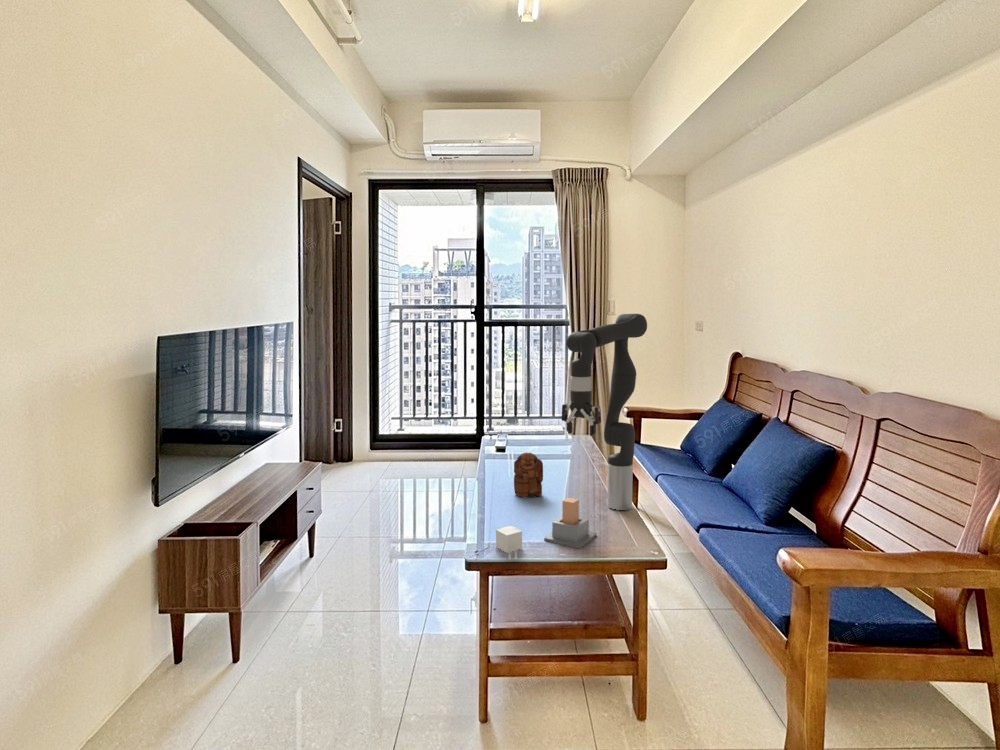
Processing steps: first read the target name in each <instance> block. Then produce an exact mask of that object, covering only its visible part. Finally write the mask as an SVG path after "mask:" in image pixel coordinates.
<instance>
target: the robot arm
mask: <svg viewBox="0 0 1000 750" xmlns="http://www.w3.org/2000/svg"><path fill="white" fill-rule="evenodd" d="M647 329H648V322H647V318H646V317H645V316H644V315H643V314H640V313H621V314H619V315H618V316H617V317H616V320H615V323H610V324H603V325H600V326H599V325H598V326H597V327H593V328H591V329H585V330H583V329H582V330H578V331H577V330H576V331H573V332H572V333H570V334H569V335H568V336H567V338H566V343H565V344H566V347H567V349H568V350H569V351H570V352H573V353H580V356H579V358H577V359H573V360H572V361H571V365H570V383H569V384H570V386H569V389H570V390H569V391H570V396H569V397H570V398H569V399H570V400H569V401H570V404H568V403H565V404H564V403H563V404H562V407H561V418H560V419H561V421H562V422H565V423H566V432H567V434H572V433H573V421H574V419H575V418H581V419H586V420H587V421H588V424H590V425H589V436H590V437H594V435H595V434H596V433H597V432H596V430H597V427H596V426H597V425H598V424H601V423H602V416H601V415H602V411H601V407H600V406H599V405H598V406H593V404H592V403H593V402H592V401H593V400H592V399H593V394H592V393H593V379H592V364H593V360H594V356H595V353H596V350H597V348H599V347H603V346H605V345H608V344H611V343H614V345H613V346H614V347H613V348H614V349H613V351H614V352H613V364H612V370H611V378H610V379H611V381H610V392H609V400H608V401H609V402H608V407H607V413H606V418H605V422H604V423H605V424H604V429H603V438H604V442H605V443H606V444H607V445H609V446H615V447H620V450H619V452H617V453H613V454H610V455H609V456H608V459H607V462H608V463H607V507H608V509H610V508H612V509H611V510H613V509H616V510H615V511H619V510H625V511H630V510H631V509H632V507H633V467H634V466H633V465H634V464H633V463H634V461H633V460H634V456H635V441H636V430H635V427H634V425H633V424H632V423H629V422H620V415H621V413H622V409H623V408H624V406H625V404H627V402H628V400H629V399H630V398H631V397H632V395H633V393H634V392H635V388H636V382H637V370H636V367H635V365H634V361H633V360H632V358H631V356H630V352H629V338H630V339H631V338H632V339H633V338H635V339H637V338H640V337H643V336H644V334H646V332H647ZM569 410H570V411H571V412H570V414H569V413H568V412H569ZM592 411H593V413H592ZM593 414H594V415H593ZM629 509H630V510H629Z"/></svg>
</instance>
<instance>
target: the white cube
mask: <svg viewBox="0 0 1000 750" xmlns="http://www.w3.org/2000/svg"><path fill="white" fill-rule="evenodd" d="M496 547H497V549H498V548H499V549H498V550H500V549H501V550H500V551H501V552H503V551H504V552H503V553H505V552H506V553H505V554H509V553H508V552H510V553H512V552H511V551H514V552H516V551H515V550H517V551H519V550H518V549H520V550H522V549H523V531H522V530H521V529H519V528H517V527H514V526H513V525H509V526H505V527H501V528H498V529H495V548H496ZM521 548H522V549H521Z"/></svg>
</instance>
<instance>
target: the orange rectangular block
mask: <svg viewBox="0 0 1000 750" xmlns="http://www.w3.org/2000/svg"><path fill="white" fill-rule="evenodd" d="M579 501H580V500H579V499H577V498H572V497H566V498H564V499H563V500H562V506H561V508H562V509H561V510H562V523H567V524H571V525H576V524H577V523H579V517H580V513H579V512H580V509H579V507H580V505H579V504H580V503H579Z"/></svg>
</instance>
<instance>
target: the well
mask: <svg viewBox="0 0 1000 750" xmlns="http://www.w3.org/2000/svg"><path fill="white" fill-rule="evenodd" d="M589 523H590V519H589V518H585V517H580V516H579V523H577V524H576V525H571V524H567V523H562V516H560V517H559V518H556V520H554V521H552V524H551V525H552V528H551V529H552V532H551V533H549V534H547V535H546V536H544V538H543V539H544V542H548V543H552V542H553V544H556V545H557V544H558V545H561V546H566V547H571V548H575V549H579V550H581V549H582V548H583V547H584V546H586V545H588V543H589V542H591V541H592V540H594V538H596V537H597V536H598V535H597V532H596V531H595V532H594V531H590V529H589V528H590V525H589ZM596 535H597V536H596ZM595 536H596V537H595ZM590 540H591V541H590ZM585 544H586V545H585Z"/></svg>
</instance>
